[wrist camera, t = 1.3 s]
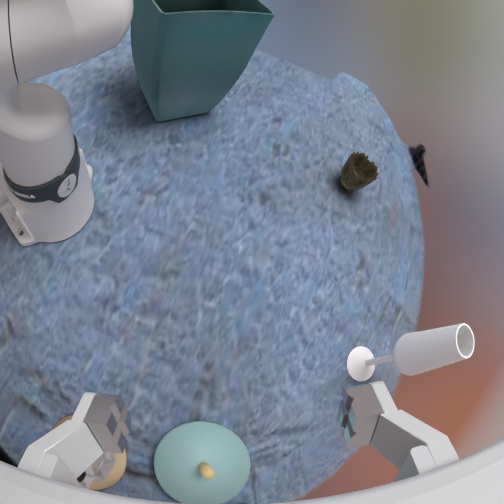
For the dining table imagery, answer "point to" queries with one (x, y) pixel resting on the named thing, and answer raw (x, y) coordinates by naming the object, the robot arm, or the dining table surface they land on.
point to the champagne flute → (417, 352)
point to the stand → (114, 472)
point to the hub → (201, 463)
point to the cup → (357, 172)
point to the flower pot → (193, 50)
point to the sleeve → (97, 470)
